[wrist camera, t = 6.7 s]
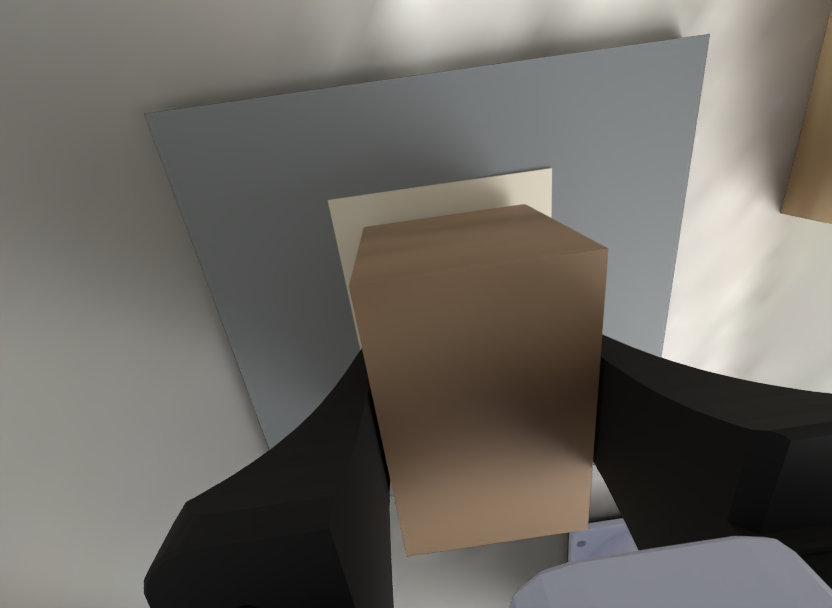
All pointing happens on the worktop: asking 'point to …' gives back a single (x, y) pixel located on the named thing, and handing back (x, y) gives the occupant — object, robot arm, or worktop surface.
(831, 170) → the oak block
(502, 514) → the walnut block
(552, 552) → the worktop surface
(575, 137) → the board
